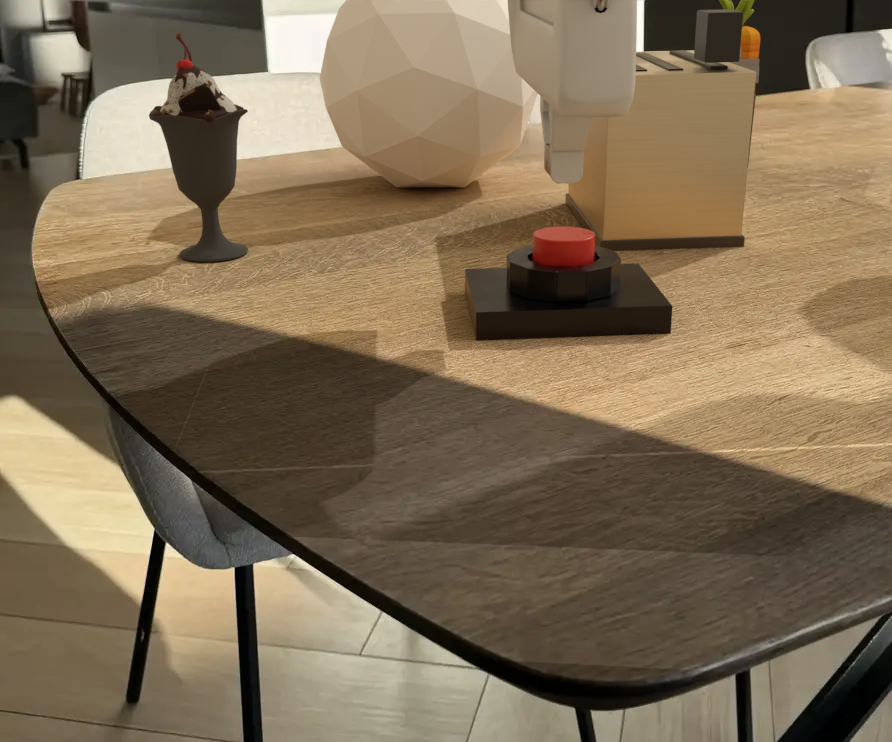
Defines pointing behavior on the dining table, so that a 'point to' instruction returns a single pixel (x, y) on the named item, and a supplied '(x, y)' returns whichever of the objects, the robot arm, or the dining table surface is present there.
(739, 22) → the block
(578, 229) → the button
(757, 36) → the carrot
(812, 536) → the dining table surface
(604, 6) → the robot arm
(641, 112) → the toaster
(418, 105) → the ball
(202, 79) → the sundae
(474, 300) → the block
